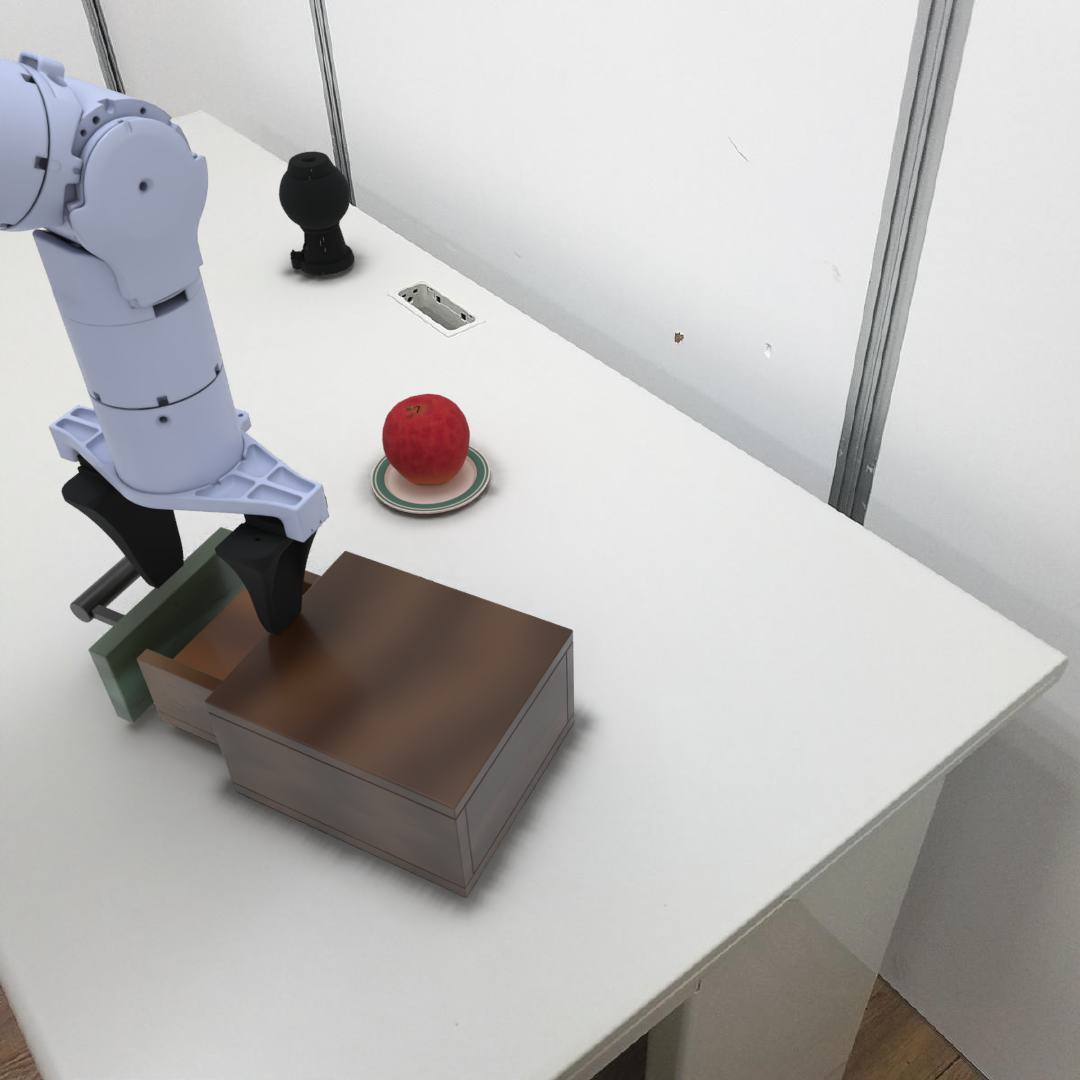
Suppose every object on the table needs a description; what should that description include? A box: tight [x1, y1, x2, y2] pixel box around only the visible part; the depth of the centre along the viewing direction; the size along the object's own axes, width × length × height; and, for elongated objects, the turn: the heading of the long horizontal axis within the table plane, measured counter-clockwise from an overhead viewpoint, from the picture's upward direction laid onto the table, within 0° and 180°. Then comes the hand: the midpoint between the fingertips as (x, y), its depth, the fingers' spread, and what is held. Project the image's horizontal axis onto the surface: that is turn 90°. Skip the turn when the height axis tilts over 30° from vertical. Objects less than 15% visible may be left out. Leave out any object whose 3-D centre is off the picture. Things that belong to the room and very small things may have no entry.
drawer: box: [69, 526, 322, 746], centre depth 60 cm, size 17×10×5 cm, turn 63°
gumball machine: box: [278, 147, 355, 278], centre depth 95 cm, size 7×6×10 cm
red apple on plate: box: [370, 393, 491, 515], centre depth 73 cm, size 8×8×6 cm
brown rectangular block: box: [173, 590, 268, 680], centre depth 59 cm, size 6×4×2 cm, turn 153°
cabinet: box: [204, 550, 575, 898], centre depth 56 cm, size 14×12×7 cm
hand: (224, 597), depth 57 cm, fingers open, 7 cm apart
